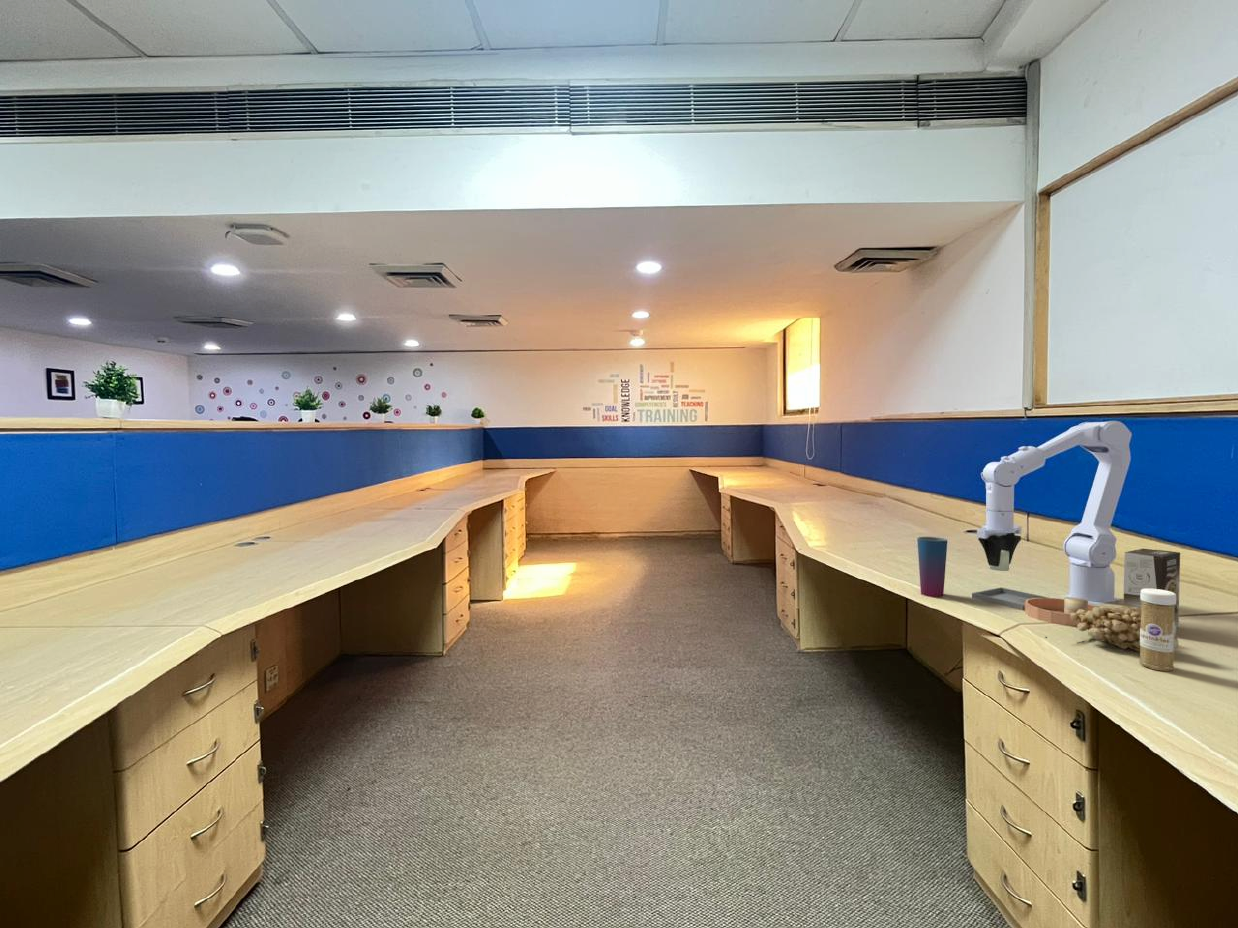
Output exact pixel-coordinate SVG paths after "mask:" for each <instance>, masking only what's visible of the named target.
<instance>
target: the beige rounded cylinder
mask: <svg viewBox="0 0 1238 928" xmlns="http://www.w3.org/2000/svg"><path fill="white" fill-rule="evenodd" d="M1063 599H1064V613H1067V614H1071V613H1076V612H1077V611H1078V610H1079V609H1082V610H1086V611H1088V604H1089V602H1088V600H1086V599H1082V598H1077V597H1063Z"/></svg>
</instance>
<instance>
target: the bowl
mask: <svg viewBox="0 0 1238 928" xmlns="http://www.w3.org/2000/svg"><path fill="white" fill-rule="evenodd" d="M1094 607H1096V606H1095V605H1092V604H1089V603H1088V610H1090V611H1092V610H1093V608H1094ZM1024 614H1025V615H1027V616H1028V617H1030V618H1033V619H1034V620H1038V621H1042V622H1046V623H1049V624H1056V625H1060V626H1061V625H1062V626H1070V627H1077V624H1079V623H1081V622H1080V621H1079V620H1072V619H1071V618H1070V614H1067V613H1064V598H1054V597H1052V598H1051V597H1048V598H1031V599H1027V600H1026V601H1025V610H1024Z"/></svg>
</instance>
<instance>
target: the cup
mask: <svg viewBox="0 0 1238 928" xmlns="http://www.w3.org/2000/svg"><path fill="white" fill-rule="evenodd" d="M916 540H917V542H916V543H917V553H918V557H917V558H918V567H919V568H918V569H919V586H920V594H921V595H922V596H924V597H930V598H942V597H944V593H945V579H946V568H947V567H946V566H947V565H946V563H947V551H948V538H944V537H939V536H918V537H917V538H916Z"/></svg>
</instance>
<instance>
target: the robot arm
mask: <svg viewBox="0 0 1238 928" xmlns="http://www.w3.org/2000/svg"><path fill="white" fill-rule="evenodd" d="M1132 435H1133V434H1132V432H1131V431H1130V429H1129V428H1128V427H1127V426H1126V425H1125V424H1124V423H1122V421H1118V420H1109V421H1093V422H1091V421H1085V422H1082V423H1079V424H1078V425H1075V426H1072V427H1070V428H1068V430H1066V431H1064V432H1062V433H1061V434H1059V435H1057V436H1055V437H1053V438H1052V439H1049V440H1047V441H1046V442H1045V443H1042V444H1041V445H1039V446H1037V447H1035V446H1032V445H1029V446H1020V447H1018V451H1016V452H1014V453H1012V454H1010V455H1007V456H1006V455H1003V456H1001V457H1000V461H991V462H989V463H987V464H986V465H985V467H984V468H983V470H982V472H980V477H981V479H982V481H983V482H984V483H985V490H986V491H985V492H986V494H985V498H986V499H985V503H986V504H985V505H986V507H985V525H982V526H981V528H980V529H977V530H976V537H977V539H978V541H979V543H980V544H981V546H982V548H983V551H984V553H985V556H986V560H987V563H988V565H989V566H990V565H991V566H999V563H1000V555H1001V550H1005V551H1009V565H1011V563H1012V559H1013V557H1014V556H1013V555H1014V553H1015V550H1016V548H1017V546H1018V544H1019V543H1020V541H1022V536H1021V534H1022V525H1015V523H1014V518H1015V517H1014V516H1015V512H1014V510H1015V506H1014V502H1015V485H1016V484H1017V483H1018V482H1019V480H1020V479H1021V477H1024V476H1026V475H1028V474H1030V473H1032V472H1034V471H1036V470H1038V469H1041V468H1042V467H1044V466H1045V463H1046V459H1049V458H1052V457H1054V456H1056V455H1058V454H1061V453H1063V452H1066V451H1067V450H1070V449H1072V448H1074V447H1076V446H1080V447H1081V448H1083V449H1084V450H1086V451H1087V452H1089V453H1090V454H1092V455H1093V456H1094V457H1095V459H1097V461H1098V466H1097V470H1096V473H1095V476H1094V478H1093V479H1094V480H1093V483H1092V487H1091V490H1090V492H1089V496H1088V500H1087V501H1086V506H1085V508H1084V509H1085V510H1084V511H1083V516H1082V519H1081V522H1080V523H1079V524H1077V525H1076V526H1074V527H1073V528H1072V529H1071V530H1070V534H1069V535H1068V536H1067V537H1066V538H1065V540H1064V542H1063V544H1062V549H1063V553H1064V554H1065V555H1066V556H1067V557H1068V562H1069V593H1068V594H1064V595H1061V597H1063V598H1065V597H1077V598H1082V599H1086V600H1088V603H1091V604H1096V605H1101V604H1106V603H1108V602H1113V603H1115V602H1118V601H1120V598H1119V597H1115V582H1116V581H1115V579H1116V578H1115V575H1116V574H1115V572H1114V571H1113V569H1112V567H1110V565H1111V564H1112V563H1113V562H1115V559H1116V557H1117V549H1116V548H1117V547H1116V545H1117V537H1116V536H1115V534H1114V533H1113V532H1112V531H1111V526H1112V522H1113V519H1114V516H1115V512H1116V509H1117V506H1118V503H1119V500H1120V496H1121V493H1122V489H1123V486H1124V483H1125V479H1126V476H1127V473H1128V471H1129V467H1130V463H1131V460H1132V459H1131V458H1132V456H1131V451H1130V442H1131V439H1132Z"/></svg>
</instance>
